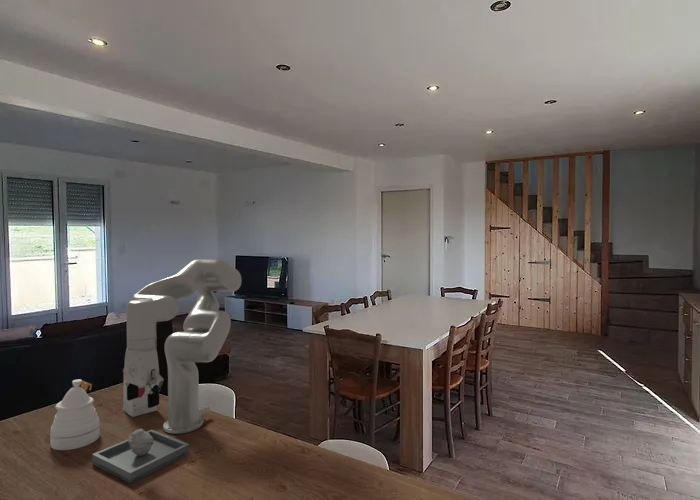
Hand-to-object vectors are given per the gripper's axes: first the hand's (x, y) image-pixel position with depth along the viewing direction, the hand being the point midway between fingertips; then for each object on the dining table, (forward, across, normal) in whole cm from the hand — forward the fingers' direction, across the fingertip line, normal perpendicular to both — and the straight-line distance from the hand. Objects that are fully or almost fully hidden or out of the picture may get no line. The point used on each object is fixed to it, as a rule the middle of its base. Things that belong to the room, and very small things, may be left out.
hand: (143, 402), depth 120 cm
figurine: (+17, -47, +6) cm, 50 cm away
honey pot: (+16, -28, -5) cm, 33 cm away
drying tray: (+16, 0, -1) cm, 16 cm away
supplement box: (+17, -32, +19) cm, 41 cm away
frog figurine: (+15, 0, -1) cm, 15 cm away
